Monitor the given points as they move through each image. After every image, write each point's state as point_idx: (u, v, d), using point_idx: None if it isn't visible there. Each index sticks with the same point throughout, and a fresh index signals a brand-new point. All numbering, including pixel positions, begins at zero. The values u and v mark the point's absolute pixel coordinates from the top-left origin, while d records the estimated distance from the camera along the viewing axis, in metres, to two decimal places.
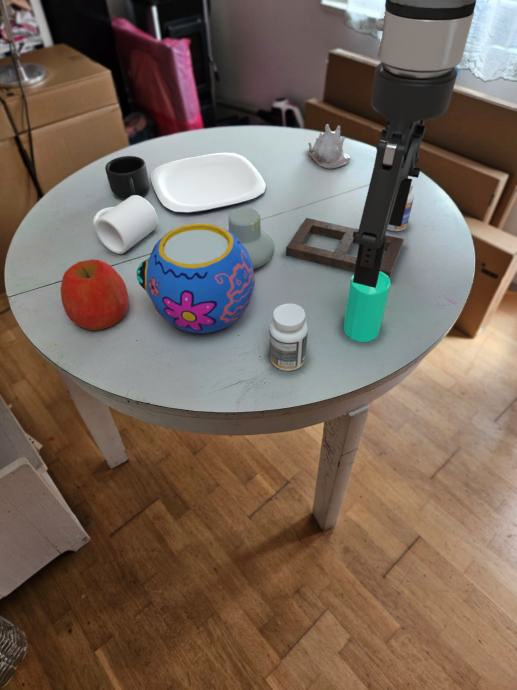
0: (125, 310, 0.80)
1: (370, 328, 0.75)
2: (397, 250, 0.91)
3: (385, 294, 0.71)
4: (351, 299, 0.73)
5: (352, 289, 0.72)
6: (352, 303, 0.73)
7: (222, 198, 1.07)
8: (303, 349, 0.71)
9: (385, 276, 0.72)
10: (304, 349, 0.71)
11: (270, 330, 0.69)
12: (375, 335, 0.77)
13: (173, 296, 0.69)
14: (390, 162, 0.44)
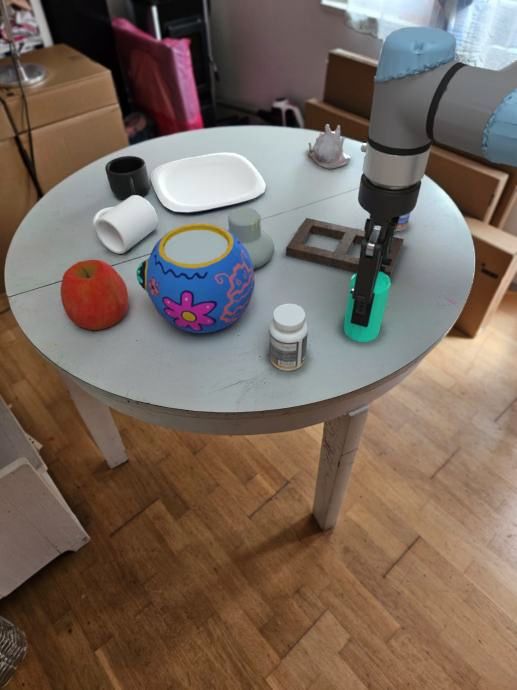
0: (125, 310, 0.80)
1: (370, 328, 0.75)
2: (397, 250, 0.91)
3: (385, 294, 0.71)
4: (351, 299, 0.73)
5: None
6: (352, 303, 0.73)
7: (222, 198, 1.07)
8: (303, 349, 0.71)
9: (385, 276, 0.72)
10: (304, 349, 0.71)
11: (270, 330, 0.69)
12: (375, 335, 0.77)
13: (173, 296, 0.69)
14: (371, 255, 0.61)
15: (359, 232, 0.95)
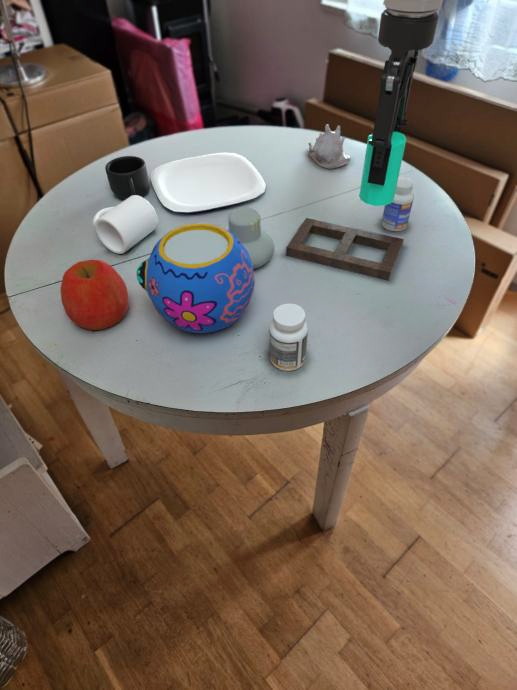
0: (125, 310, 0.80)
1: (386, 189, 0.79)
2: (397, 250, 0.91)
3: (401, 149, 0.74)
4: (368, 157, 0.76)
5: (369, 146, 0.75)
6: (369, 162, 0.77)
7: (222, 198, 1.07)
8: (303, 349, 0.71)
9: (401, 134, 0.76)
10: (304, 349, 0.71)
11: (270, 330, 0.69)
12: (390, 200, 0.81)
13: (173, 296, 0.69)
14: (390, 89, 0.64)
15: (359, 232, 0.95)
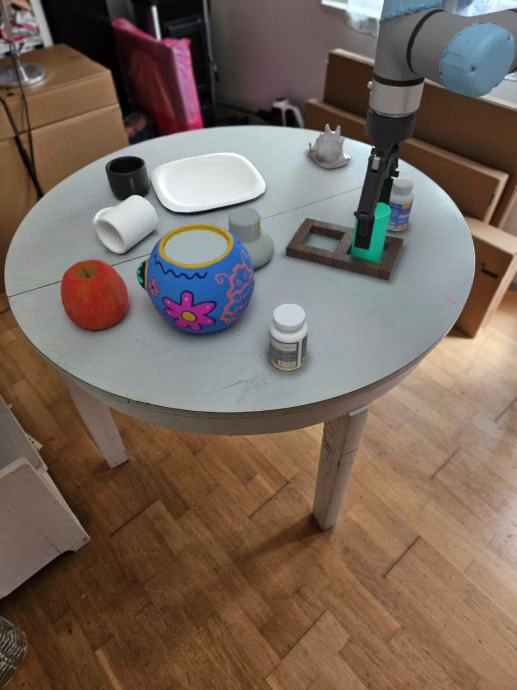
0: (125, 310, 0.80)
1: (373, 252, 0.89)
2: (397, 250, 0.91)
3: (386, 219, 0.84)
4: None
5: None
6: None
7: (222, 198, 1.07)
8: (303, 349, 0.71)
9: (386, 206, 0.86)
10: (304, 349, 0.71)
11: (270, 330, 0.69)
12: (377, 260, 0.91)
13: (173, 296, 0.69)
14: (376, 168, 0.73)
15: None
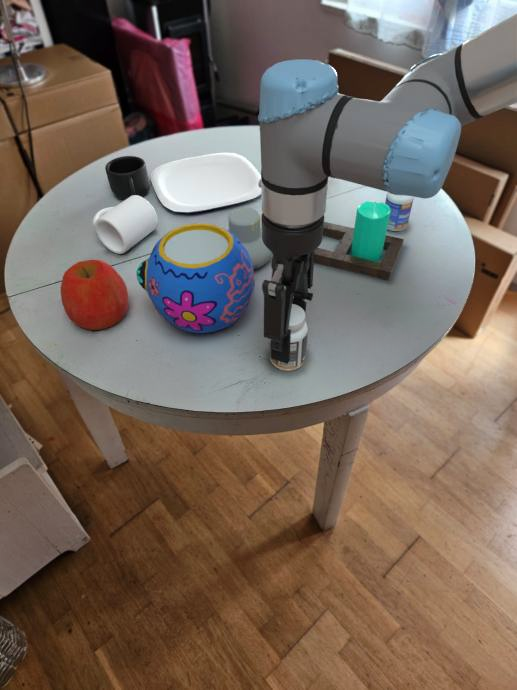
0: (125, 310, 0.80)
1: (373, 252, 0.89)
2: (397, 250, 0.91)
3: (386, 219, 0.84)
4: (357, 225, 0.86)
5: (358, 216, 0.85)
6: (358, 229, 0.87)
7: (222, 198, 1.07)
8: (303, 349, 0.71)
9: (386, 206, 0.86)
10: (304, 349, 0.71)
11: None
12: (377, 260, 0.91)
13: (173, 296, 0.69)
14: (274, 295, 0.57)
15: None
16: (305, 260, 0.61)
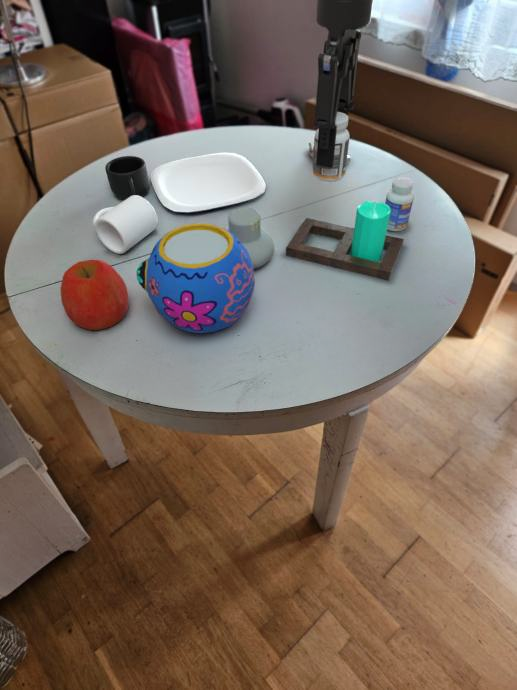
0: (125, 310, 0.80)
1: (373, 252, 0.89)
2: (397, 250, 0.91)
3: (386, 219, 0.84)
4: (357, 225, 0.86)
5: (358, 216, 0.85)
6: (358, 229, 0.87)
7: (222, 198, 1.07)
8: (345, 156, 0.78)
9: (386, 206, 0.86)
10: (345, 157, 0.79)
11: (316, 136, 0.77)
12: (377, 260, 0.91)
13: (173, 296, 0.69)
14: (328, 69, 0.65)
15: None
16: (353, 49, 0.69)
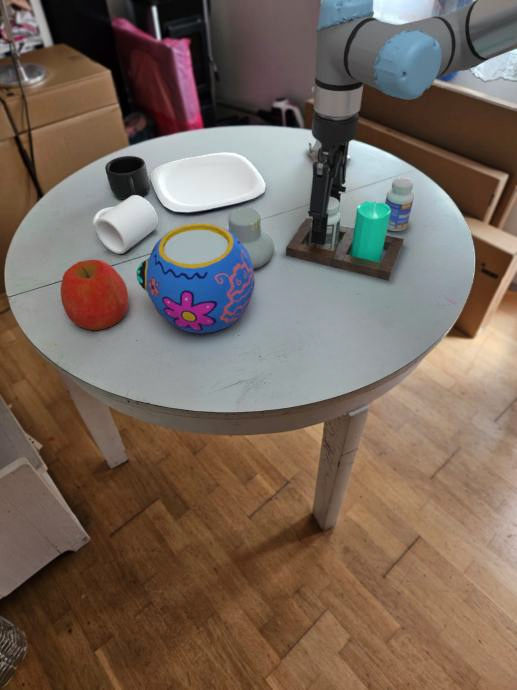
0: (125, 310, 0.80)
1: (373, 252, 0.89)
2: (397, 250, 0.91)
3: (386, 219, 0.84)
4: (357, 225, 0.86)
5: (358, 216, 0.85)
6: (358, 229, 0.87)
7: (222, 198, 1.07)
8: (337, 233, 0.91)
9: (386, 206, 0.86)
10: (337, 234, 0.91)
11: (311, 217, 0.90)
12: (377, 260, 0.91)
13: (173, 296, 0.69)
14: (321, 174, 0.78)
15: None
16: (342, 154, 0.81)
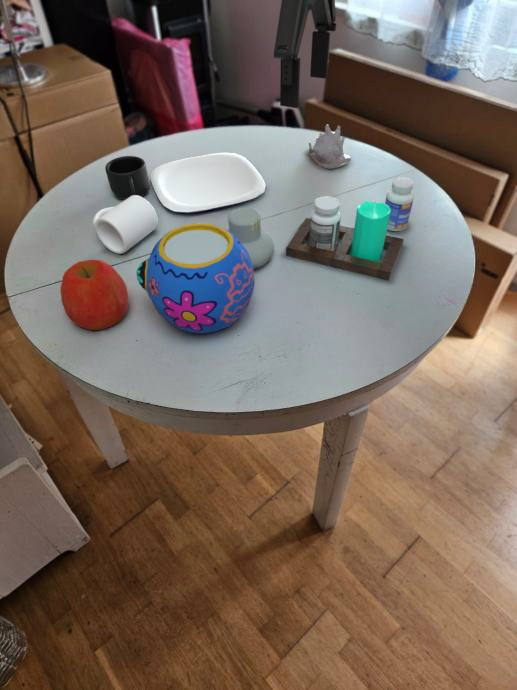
0: (125, 310, 0.80)
1: (373, 252, 0.89)
2: (397, 250, 0.91)
3: (386, 219, 0.84)
4: (357, 225, 0.86)
5: (358, 216, 0.85)
6: (358, 229, 0.87)
7: (222, 198, 1.07)
8: (337, 233, 0.91)
9: (386, 206, 0.86)
10: (337, 234, 0.91)
11: (311, 217, 0.90)
12: (377, 260, 0.91)
13: (173, 296, 0.69)
14: None
15: None
16: None
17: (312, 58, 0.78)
